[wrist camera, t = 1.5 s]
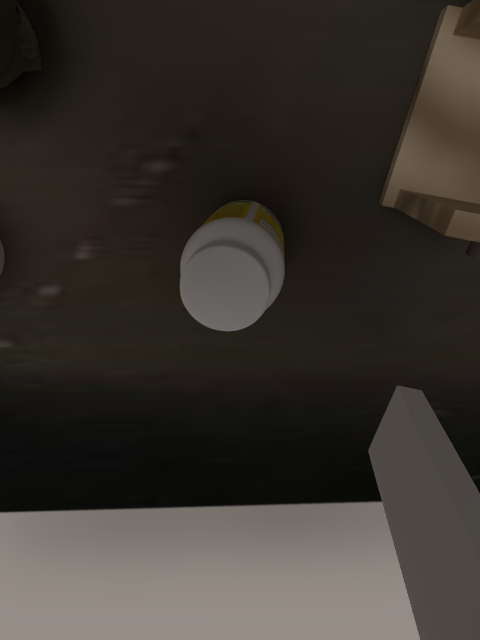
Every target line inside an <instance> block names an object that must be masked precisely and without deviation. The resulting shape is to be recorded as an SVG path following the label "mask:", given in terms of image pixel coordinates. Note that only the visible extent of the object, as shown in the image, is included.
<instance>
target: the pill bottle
mask: <svg viewBox="0 0 480 640" xmlns="http://www.w3.org/2000/svg"><path fill="white" fill-rule="evenodd" d="M284 264H285V262H284V236H283V231H282V228H281V225H280V223H279V221H278V219H277V218H276V216H275V215H274V214H273V213H272V212H271V211H270V210H269V209H268V208H266V207H265V206H263V205H261V204H259V203H257V202H253V201H249V200H237V201H233V202H230V203H227V204H225V205H223V206H221V207H220V208H219V209H217V210H216V211H215V212H214V213H213V214H212V215H211V216H210V217H209V218H208V219H207V220H206V221H205V222H204V223H203V224H202V225H201V227H200V228H198V229H197V230H196V232H195V233H194V234H193V235H192V236H191V237H190V239H189V240H188V242H187V244H186V246H185V248H184V250H183V253H182V257H181V262H180V274H181V278H180V294H181V298H182V301H183V303H184V305H185V307H186V309H187V310H188V312H189V313H190V314H191V315H192V316H193V317H194V318H195V319H196V320H197V321H198V322H200V323H201V324H203V325H205V326H207V327H209V328H212V329H215V330H220V331H236V330H240V329H243V328H246V327H248V326H250V325H251V324H253V323H254V322H255V321H257V320H258V319H259V318H260V316H261V315H262V314H263V313H264V311H265V310H266V309H267V308H268V307H269V306H270V305H271V304H272V303H273V301H274V300H275V299H276V297H277V296H278V294H279V292H280V290H281V288H282V284H283V280H284V273H285V265H284Z"/></svg>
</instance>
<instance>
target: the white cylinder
mask: <svg viewBox="0 0 480 640" xmlns="http://www.w3.org/2000/svg"><path fill="white" fill-rule="evenodd" d="M3 267H4V249H3V245H2V242H1V239H0V275H1V273H2V270H3Z"/></svg>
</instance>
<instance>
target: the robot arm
mask: <svg viewBox="0 0 480 640" xmlns="http://www.w3.org/2000/svg"><path fill="white" fill-rule="evenodd" d="M368 451H369V455H370V459H371V462H372V466H373V469H374V473H375V477H376V480H377V484H378V488H379V491H380V495H381V498H382V502H383V506H384V509H385V513H386V517H387V520H388V524H389V527H390V531H391V534H392V538H393V542H394V545H395V549H396V553H397V556H398V560H399V564H400V567H401V571H402V575H403V578H404V582H405V585H406V589H407V593H408V596H409V600H410V604H411V607H412V611H413V614H414V618H415V622H416V625H417V629H418V632H419V636H420V640H480V493H479V492H478V490H477V488H476V486H475V484H474V483H473V481H472V479H471V477H470V476H469V474H468V472H467V470H466V468H465V467H464V465H463V463H462V461H461V460H460V458H459V456H458V454H457V452H456V451H455V449H454V447H453V445H452V444H451V442H450V440H449V438H448V437H447V435H446V433H445V431H444V429H443V428H442V426H441V424H440V422H439V421H438V419H437V417H436V415H435V413H434V412H433V410H432V408H431V406H430V405H429V403H428V401H427V399H426V397H425V396H424V394H423V392H422V391H421V390H416V389H411V388H406V387H401V386H397V387H396V389H395V392H394V394H393V396H392V398H391V401H390V403H389V405H388V407H387V410H386V412H385V414H384V416H383V419H382V421H381V423H380V425H379V428H378V430H377V432H376V434H375V437H374V439H373V441H372V443H371V446H370V448H369V450H368Z"/></svg>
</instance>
